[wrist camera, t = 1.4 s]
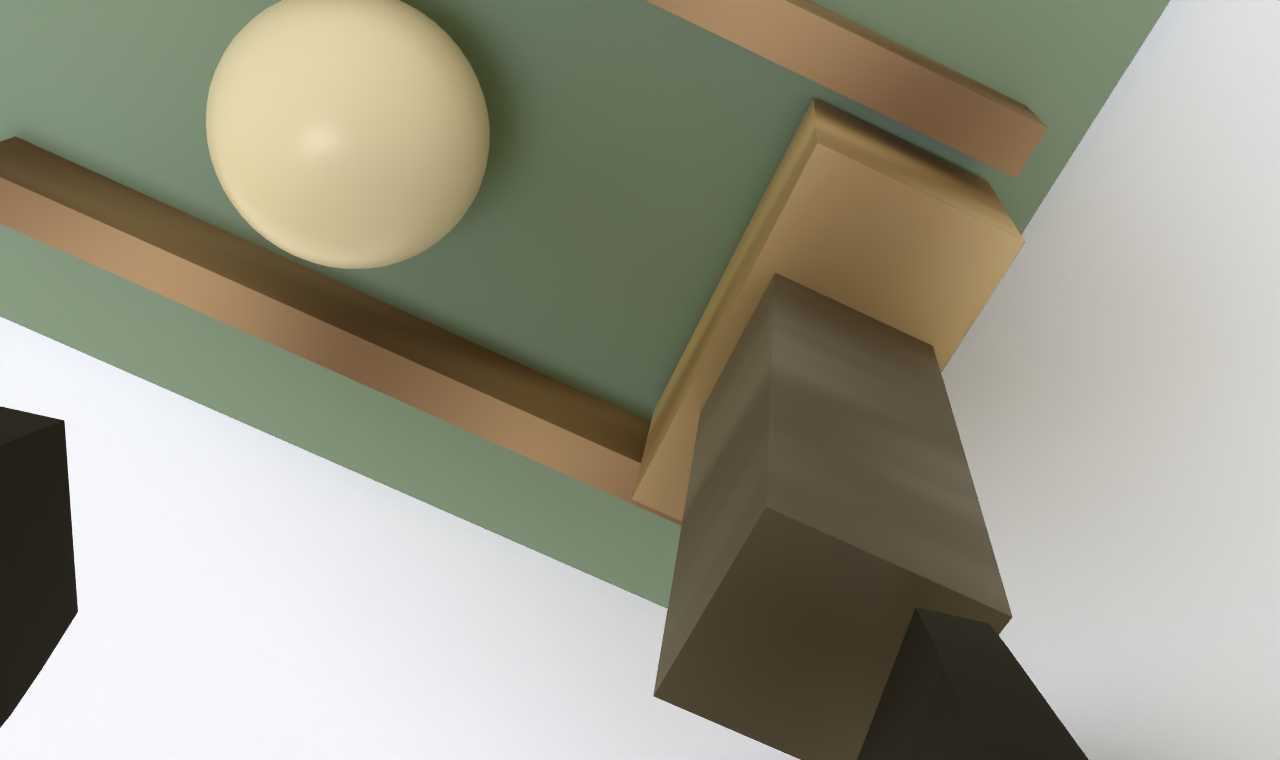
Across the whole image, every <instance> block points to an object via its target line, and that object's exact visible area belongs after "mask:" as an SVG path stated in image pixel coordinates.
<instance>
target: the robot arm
mask: <svg viewBox="0 0 1280 760" xmlns="http://www.w3.org/2000/svg"><path fill="white" fill-rule="evenodd" d="M77 612H78V607H77V593H76V579H75V565H74V551H73V536H72V522H71V508H70V494H69V480H68V466H67V452H66V438H65V424H64V420H60V419H55V418H50V417H46V416H41V415H37V414H32V413H28V412H23V411H19V410H14V409H9V408H5V407H0V727H1V726H2V725H3V724H4V722H5V721H6V720H7V719H8V718H9V716H10V715H11V714H12V712H13V711H14V709H15V708H16V706H17V705H18V703H19V702H20V700H21V699H22V698H23V696H24V695H25V693H26V692H27V690H28V689H29V687H30V686H31V684H32V683H33V681H34V680H35V678H36V677H37V675H38V674H39V672H40V671H41V670H42V668H43V666H44V665H45V663H46V662H47V660H48V659H49V657H50V655H51V654H52V652H53V651H54V649H55V647H56V646H57V644H58V643H59V641H60V639H61V638H62V636H63V635H64V633H65V631H66V630H67V628H68V627H69V625H70V624H71V622H72V620H73V619H74V617H75V616H76V614H77ZM857 760H1088V758H1087V757H1086V756H1085V754H1084V753H1083V751H1082V750H1081V749H1080V747H1079V746H1078V745H1077V743H1076V742H1075V740H1074V739H1073V738H1072V736H1071V735H1070V733H1069V732H1068V731H1067V729H1066V728H1065V727H1064V725H1063V724H1062V722H1061V721H1060V720H1059V718H1058V717H1057V716H1056V714H1055V713H1054V711H1053V710H1052V709H1051V707H1050V706H1049V704H1048V703H1047V702H1046V700H1045V699H1044V697H1043V696H1042V695H1041V693H1040V692H1039V690H1038V689H1037V688H1036V686H1035V685H1034V683H1033V682H1032V681H1031V679H1030V678H1029V676H1028V675H1027V674H1026V672H1025V671H1024V669H1023V668H1022V667H1021V665H1020V664H1019V663H1018V661H1017V660H1016V658H1015V657H1014V656H1013V654H1012V653H1011V652H1010V650H1009V649H1008V647H1007V646H1006V645H1005V643H1004V642H1003V641H1002V639H1001V638H1000V637H999V635H998V634H997V633H996V632H995V630H994V629H993V628H992V626H991V625H990V624H989V623H986V622H982V621H977V620H972V619H968V618H963V617H959V616H954V615H950V614H945V613H940V612H936V611H931V610H927V609H922V608H918V607H916V608H915V610H914V613H913V615H912V618H911V621H910V623H909V626H908V628H907V631H906V634H905V636H904V639H903V641H902V644H901V647H900V649H899V652H898V654H897V657H896V660H895V662H894V665H893V667H892V670H891V673H890V675H889V678H888V680H887V683H886V686H885V688H884V691H883V693H882V696H881V699H880V701H879V704H878V706H877V709H876V712H875V714H874V717H873V720H872V722H871V725H870V727H869V730H868V733H867V735H866V738H865V740H864V743H863V746H862V748H861V751H860V753H859V756H858V759H857Z"/></svg>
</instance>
